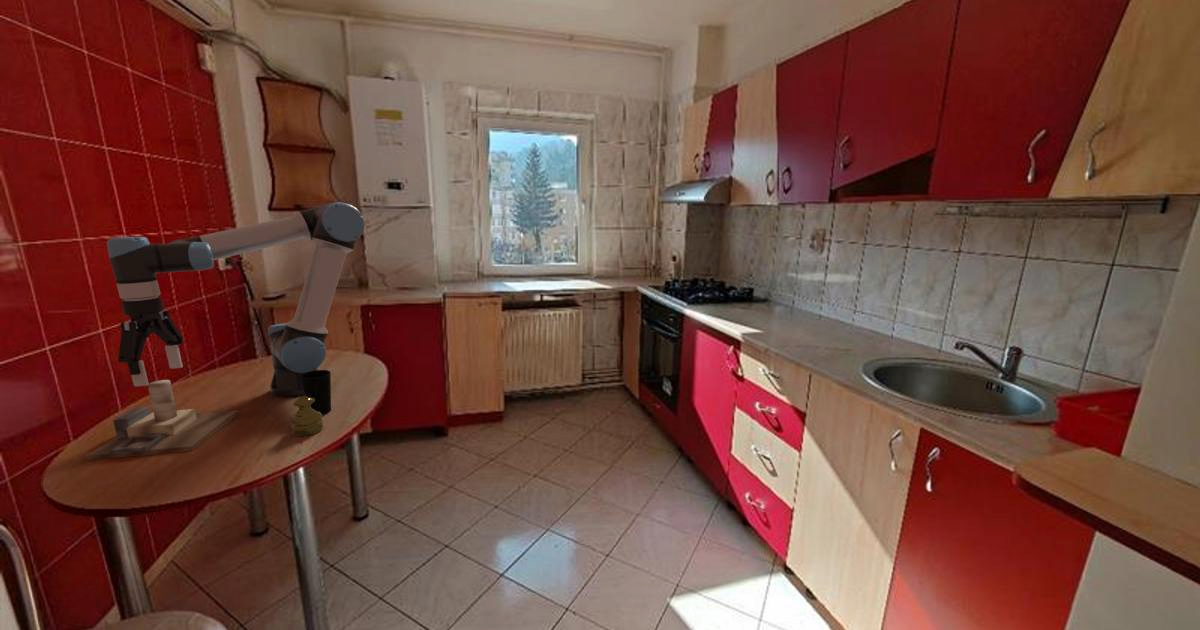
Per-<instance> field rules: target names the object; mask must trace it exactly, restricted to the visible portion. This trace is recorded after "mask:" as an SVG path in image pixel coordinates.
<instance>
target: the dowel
mask: <svg viewBox="0 0 1200 630" xmlns="http://www.w3.org/2000/svg"><path fill="white" fill-rule="evenodd" d="M148 383H149V382H148ZM147 387H148V392H149V397H150V403H151V407H152V412H154V417H155V421H165V420H169V419H173V418H175V417H176V416H177V412H176V410H177V407H176V402H175V397H174V392H173V388H172V383H171V380H170V379H161V380H156V381H152V382H150V383H149V385H147Z"/></svg>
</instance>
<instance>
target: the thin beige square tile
mask: <svg viewBox="0 0 1200 630" xmlns="http://www.w3.org/2000/svg"><path fill="white" fill-rule="evenodd" d="M176 412H177V416H176V417H175V418H173V419H169V420H165V421H155V417H154V412H153V411H152V412H150V414H149V415H147V416H145V417H144V418H142V419H140V420H139V421H137V422H135V423H134V424H132V425H130V426H129V427H127V428H126V429H127V433H128V438H131V437H132V436H142V435H154V434H167V435H175V434H176V433H177V432H179V431H180V430H182V429H183V428H184V427H186V426H187V425H189V424H190V423H192V422H193V421H194V420H196V419H197V417H196V414H197V413H196V412H197V411H196V409H195V408H191V409H190V408H188V409H176Z"/></svg>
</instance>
